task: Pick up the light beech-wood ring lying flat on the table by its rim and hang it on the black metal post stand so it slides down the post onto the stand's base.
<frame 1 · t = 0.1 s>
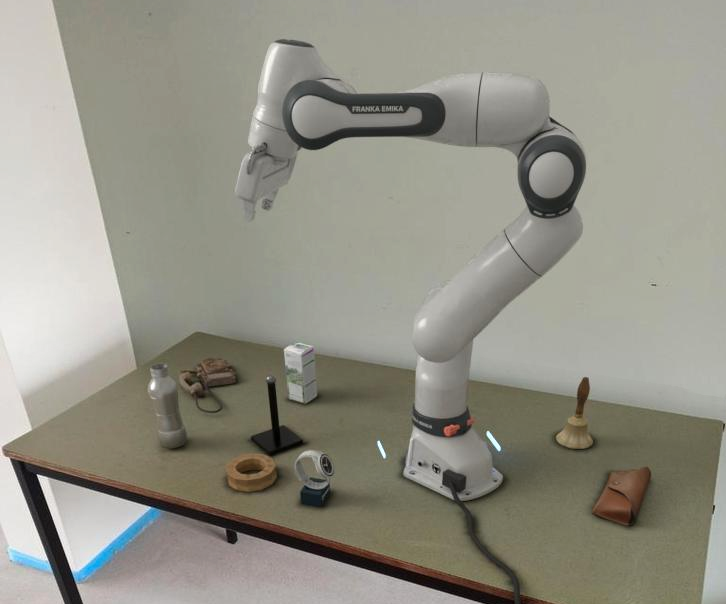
hand: (257, 214, 130), 52 cm above the table, tool tilted 20°, fingers open, 8 cm apart
ring: (252, 477, 146), on the table
telephone: (209, 388, 184), on the table
stand: (277, 442, 159), on the table
syrup box: (302, 398, 178), on the table
hand bell: (574, 441, 157), on the table
watch: (316, 499, 139), on the table
sunglasses case: (621, 499, 138), on the table
plastic bottle: (174, 445, 159), on the table
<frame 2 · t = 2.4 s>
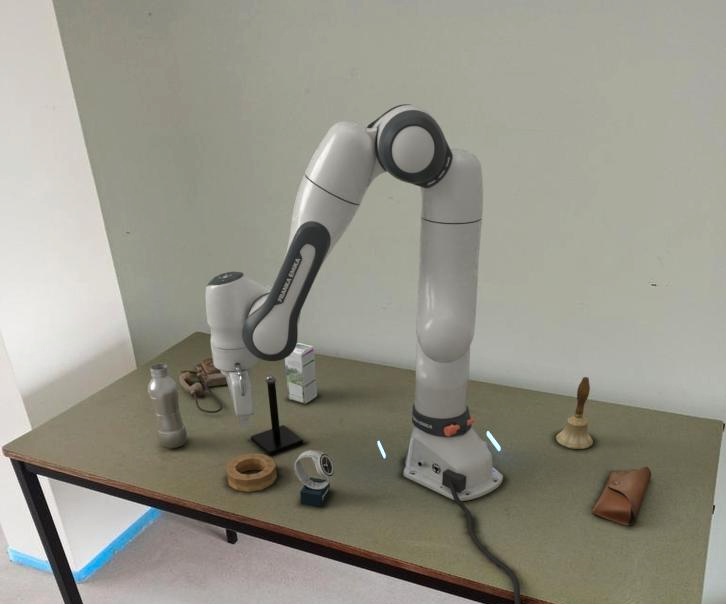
hand: (241, 415, 142), 13 cm above the table, tool pointing down, fingers open, 8 cm apart
nothing on the table moved.
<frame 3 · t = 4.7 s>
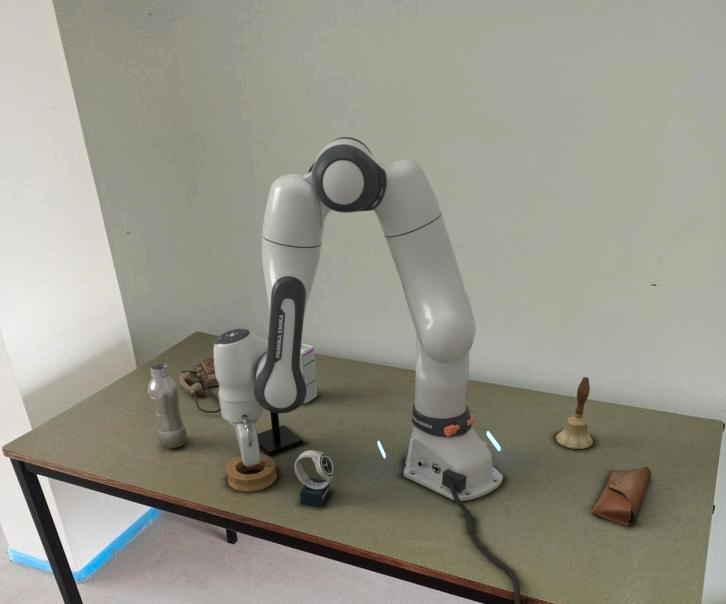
hand: (248, 461, 148), 2 cm above the table, tool pointing down, fingers closed on ring, 2 cm apart
ring: (252, 477, 146), on the table, touching gripper
everything else where it was.
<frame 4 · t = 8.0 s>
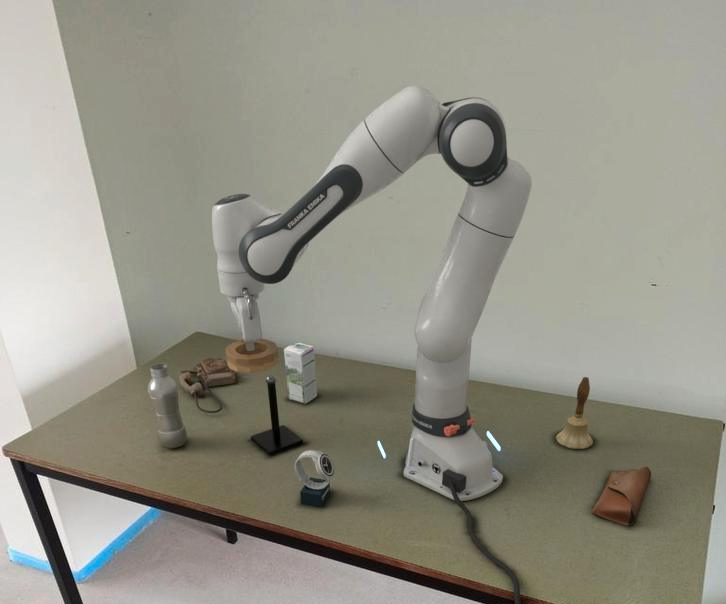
hand: (249, 346, 141), 26 cm above the table, tool pointing down, fingers closed on ring
ring: (252, 361, 139), point 24 cm above the table, touching gripper
everything else where it was.
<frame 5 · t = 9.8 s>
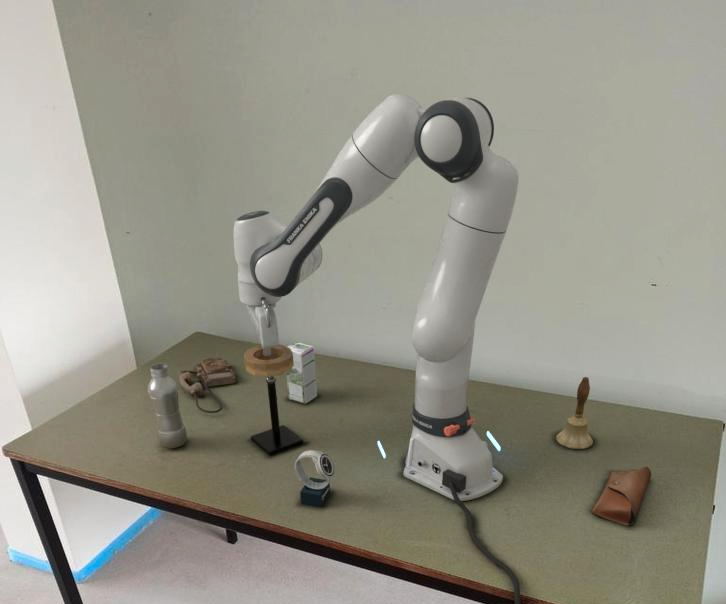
hand: (265, 351, 151), 21 cm above the table, tool pointing down, fingers closed on ring
ring: (269, 366, 148), point 19 cm above the table, touching gripper
everything else where it was.
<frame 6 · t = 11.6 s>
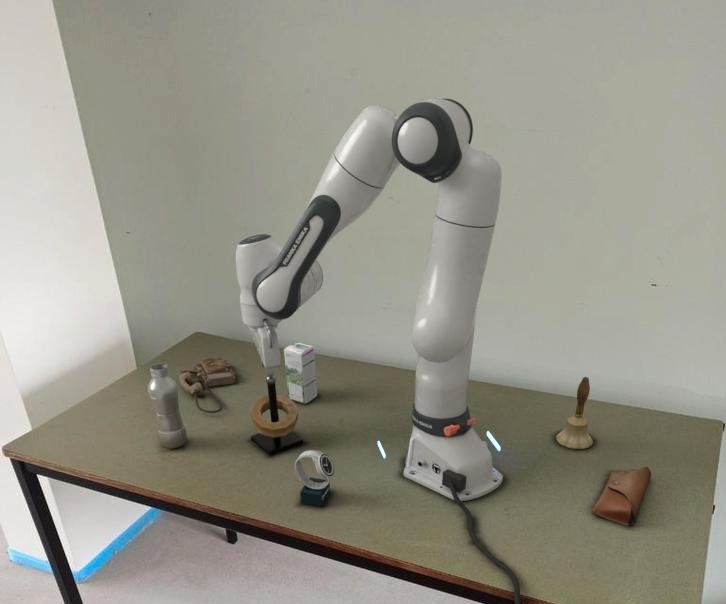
hand: (267, 370, 153), 17 cm above the table, tool pointing down, fingers open, 3 cm apart
ring: (274, 419, 157), point 6 cm above the table, tilted 23°
everything else where it was.
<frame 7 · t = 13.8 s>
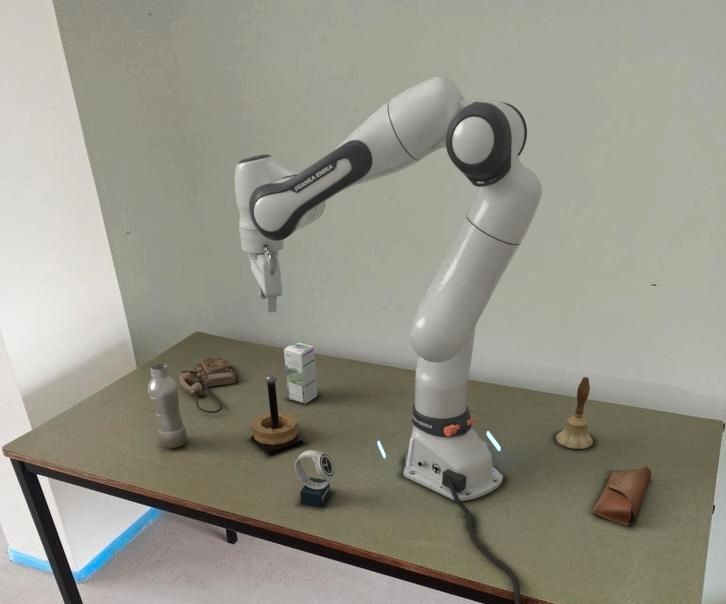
hand: (268, 304, 147), 31 cm above the table, tool pointing down, fingers open, 8 cm apart
ring: (275, 433, 160), point 1 cm above the table, touching stand
everything else where it was.
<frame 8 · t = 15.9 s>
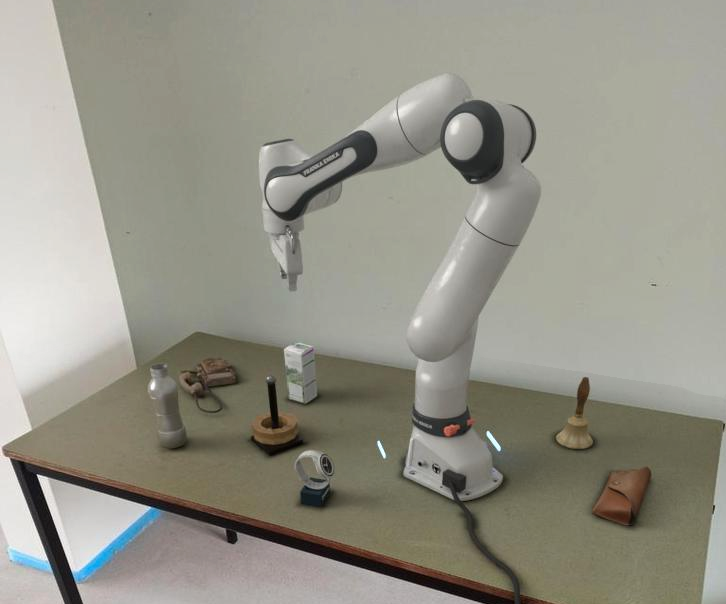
hand: (288, 284, 153), 33 cm above the table, tool pointing down, fingers open, 8 cm apart
nothing on the table moved.
at the end: ring 2.2 cm off-centre on the stand, point 1.2 cm above the stand's base; the gripper is holding nothing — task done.
